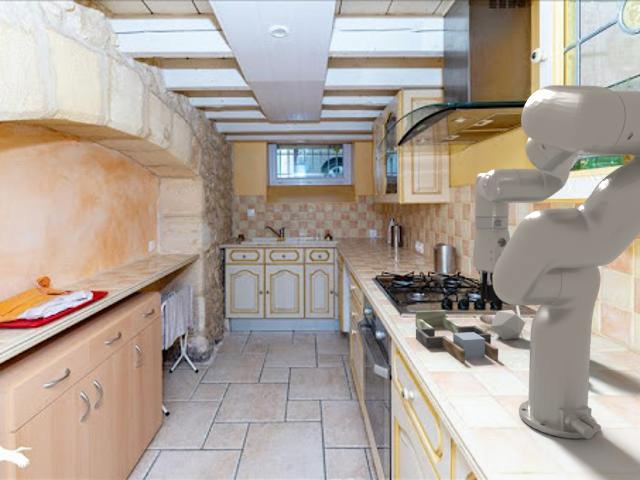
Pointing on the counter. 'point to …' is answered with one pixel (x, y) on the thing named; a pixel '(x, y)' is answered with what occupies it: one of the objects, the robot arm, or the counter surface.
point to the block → (470, 344)
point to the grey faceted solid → (507, 324)
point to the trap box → (431, 341)
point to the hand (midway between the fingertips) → (489, 299)
